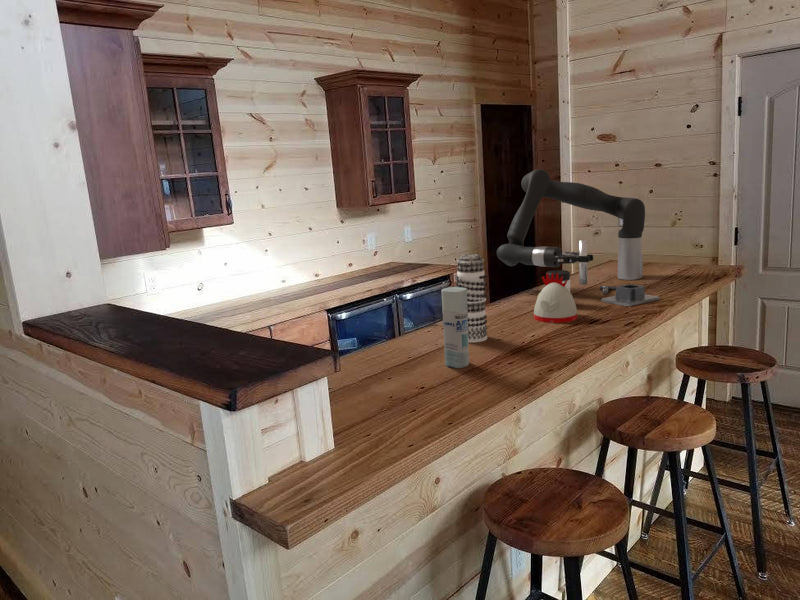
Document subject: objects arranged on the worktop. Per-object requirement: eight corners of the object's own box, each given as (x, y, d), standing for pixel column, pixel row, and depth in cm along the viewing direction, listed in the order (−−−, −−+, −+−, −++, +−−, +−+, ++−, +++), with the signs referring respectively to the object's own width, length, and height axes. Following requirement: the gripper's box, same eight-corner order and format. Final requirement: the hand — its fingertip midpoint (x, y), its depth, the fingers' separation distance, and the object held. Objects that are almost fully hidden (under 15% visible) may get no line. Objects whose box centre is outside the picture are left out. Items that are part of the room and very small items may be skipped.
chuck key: (600, 289, 244) (600, 284, 244) (616, 289, 242) (616, 284, 241) (596, 294, 235) (596, 289, 235) (613, 294, 233) (613, 289, 233)
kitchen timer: (541, 311, 214) (541, 268, 211) (582, 314, 207) (582, 269, 204) (527, 321, 203) (527, 275, 200) (570, 324, 196) (570, 277, 193)
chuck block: (631, 294, 231) (631, 281, 230) (659, 299, 221) (659, 285, 220) (601, 301, 224) (601, 287, 223) (628, 306, 213) (628, 292, 212)
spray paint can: (453, 359, 168) (450, 286, 163) (474, 362, 164) (471, 287, 159) (439, 365, 163) (436, 290, 159) (460, 369, 159) (457, 292, 155)
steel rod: (583, 282, 231) (582, 239, 227) (589, 283, 228) (588, 240, 225) (577, 284, 229) (577, 240, 226) (583, 285, 227) (583, 241, 224)
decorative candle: (479, 332, 192) (476, 252, 187) (494, 339, 184) (492, 255, 178) (452, 337, 189) (449, 255, 184) (466, 344, 180) (463, 258, 175)
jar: (575, 304, 221) (575, 271, 218) (561, 309, 216) (561, 275, 213) (554, 301, 227) (554, 269, 225) (540, 305, 222) (540, 272, 220)
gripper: (538, 249, 230) (582, 251, 219) (555, 244, 240) (598, 245, 229) (538, 269, 232) (583, 272, 221) (555, 263, 242) (598, 265, 231)
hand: (590, 258), depth 225 cm, fingers closed on steel rod, 3 cm apart
